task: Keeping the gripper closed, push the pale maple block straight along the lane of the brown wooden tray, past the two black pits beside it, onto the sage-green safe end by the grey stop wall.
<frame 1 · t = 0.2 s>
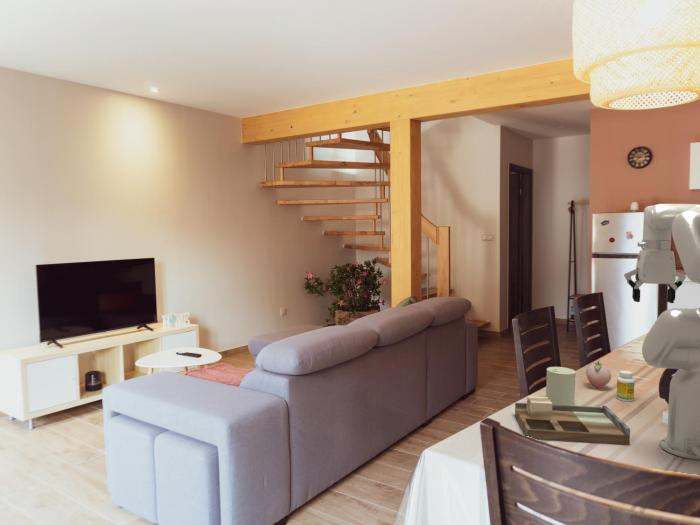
hand: (653, 302, 164), 37 cm above the table, tool pointing down, fingers open, 9 cm apart
brown wooden tray: (568, 428, 157), on the table
decorative fruit: (598, 388, 198), on the table
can: (559, 404, 180), on the table
block: (538, 414, 162), point 2 cm above the table, touching brown wooden tray
supplement bottle: (624, 399, 186), on the table
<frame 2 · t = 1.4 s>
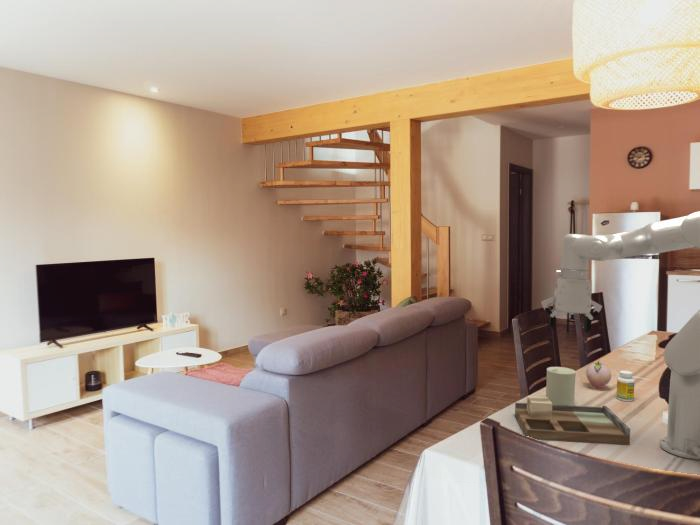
hand: (569, 330, 164), 28 cm above the table, tool pointing down, fingers open, 9 cm apart
nothing on the table moved.
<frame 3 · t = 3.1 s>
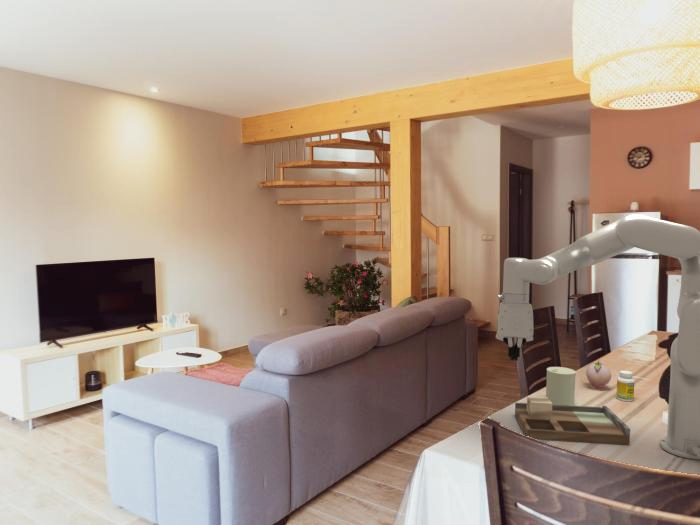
hand: (513, 359, 162), 19 cm above the table, tool pointing down, fingers closed
nothing on the table moved.
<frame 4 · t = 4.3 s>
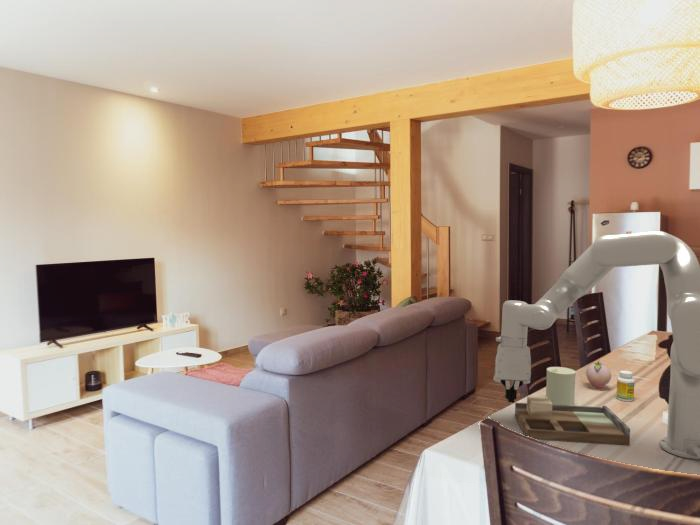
hand: (510, 401, 163), 6 cm above the table, tool pointing down, fingers closed
nothing on the table moved.
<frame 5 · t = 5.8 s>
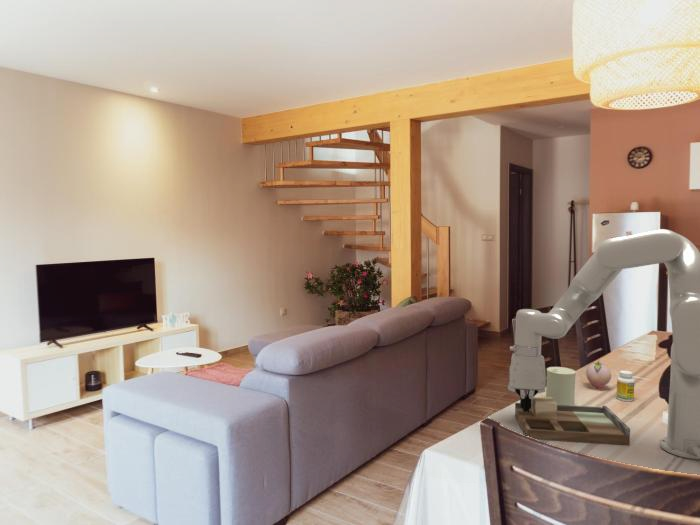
hand: (525, 410, 163), 4 cm above the table, tool pointing down, fingers closed
block: (543, 414, 162), point 2 cm above the table, touching gripper, brown wooden tray
everything else where it was.
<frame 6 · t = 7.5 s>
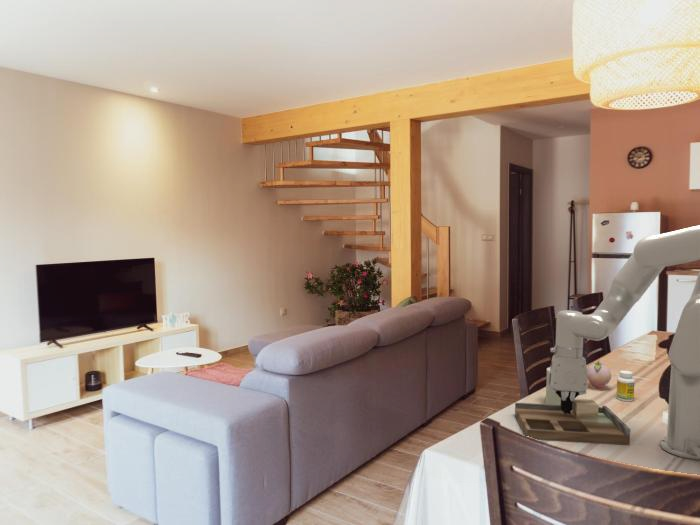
hand: (566, 412, 161), 4 cm above the table, tool pointing down, fingers closed
block: (583, 416, 161), point 3 cm above the table, touching gripper
everything else where it was.
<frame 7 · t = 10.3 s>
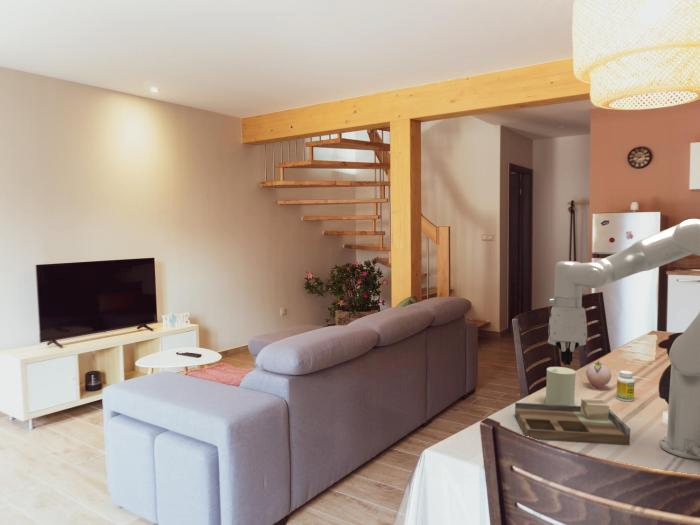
hand: (566, 363, 160), 18 cm above the table, tool pointing down, fingers closed
block: (594, 416, 161), point 2 cm above the table, touching brown wooden tray
everything else where it was.
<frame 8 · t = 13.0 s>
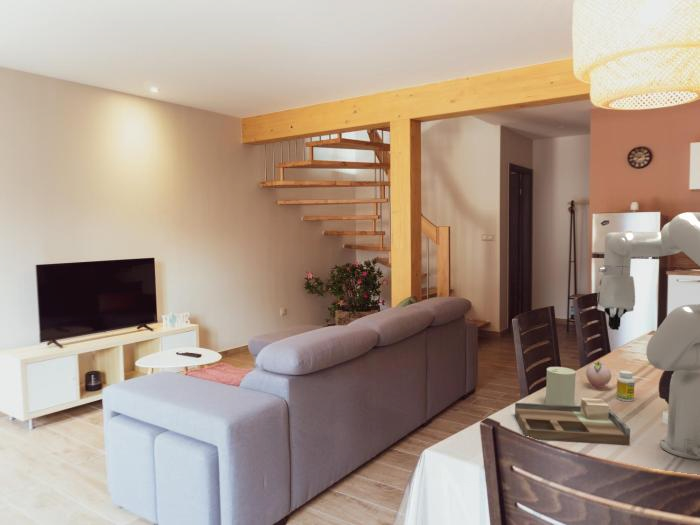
hand: (614, 328, 170), 27 cm above the table, tool pointing down, fingers closed
nothing on the table moved.
at the end: block inside the target area (1.7 cm from its centre), point 2.5 cm above the table; block tilted 0°; the gripper is holding nothing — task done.
